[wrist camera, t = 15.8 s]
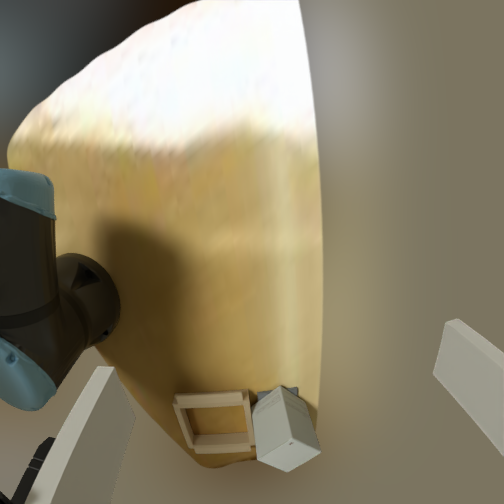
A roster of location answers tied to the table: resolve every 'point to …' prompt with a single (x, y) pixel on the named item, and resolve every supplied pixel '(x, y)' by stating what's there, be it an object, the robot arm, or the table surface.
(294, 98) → the table surface
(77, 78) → the table surface
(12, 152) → the table surface
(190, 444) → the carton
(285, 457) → the supplement box
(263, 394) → the coaster
